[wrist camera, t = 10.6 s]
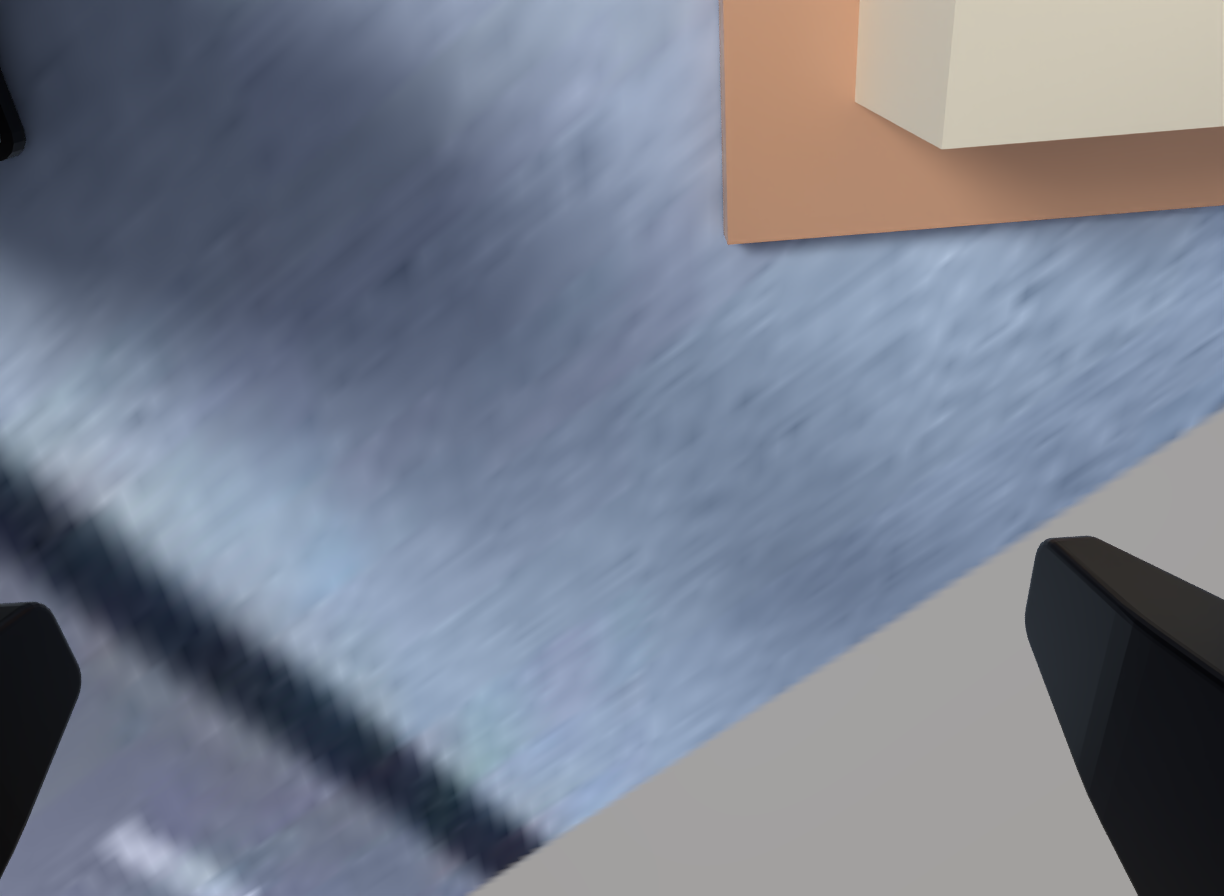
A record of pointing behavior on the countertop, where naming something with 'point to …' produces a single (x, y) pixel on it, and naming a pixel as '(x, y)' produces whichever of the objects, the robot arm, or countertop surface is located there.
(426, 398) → the countertop surface
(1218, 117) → the cream letter cube
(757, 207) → the terracotta tile
